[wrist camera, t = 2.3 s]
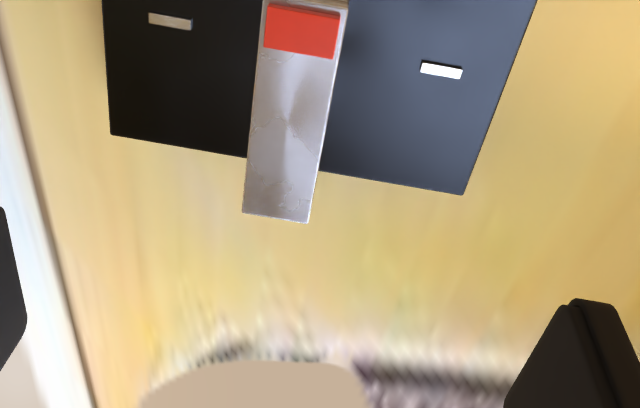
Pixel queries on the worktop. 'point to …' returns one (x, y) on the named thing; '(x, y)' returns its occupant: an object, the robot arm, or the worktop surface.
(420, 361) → the worktop surface
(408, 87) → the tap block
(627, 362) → the robot arm
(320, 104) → the brushed steel box
